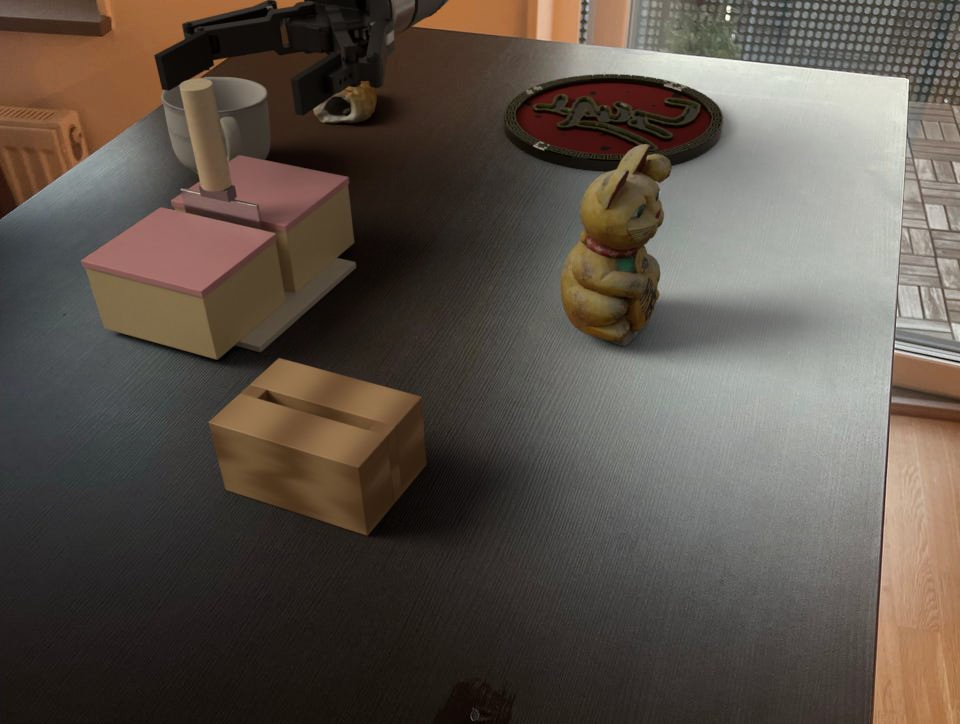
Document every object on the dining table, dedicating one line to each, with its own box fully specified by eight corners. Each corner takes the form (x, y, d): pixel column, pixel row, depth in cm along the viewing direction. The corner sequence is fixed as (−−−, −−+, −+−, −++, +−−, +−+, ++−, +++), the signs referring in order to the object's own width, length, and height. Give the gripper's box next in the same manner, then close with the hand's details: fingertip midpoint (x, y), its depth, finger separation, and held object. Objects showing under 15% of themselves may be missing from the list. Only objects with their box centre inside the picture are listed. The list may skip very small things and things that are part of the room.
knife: (192, 280, 95) (145, 82, 82) (209, 268, 96) (165, 71, 84) (265, 299, 92) (227, 97, 80) (281, 285, 94) (247, 86, 81)
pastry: (336, 93, 126) (333, 59, 124) (389, 97, 125) (387, 63, 123) (312, 124, 120) (307, 88, 118) (367, 128, 119) (364, 93, 116)
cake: (87, 330, 90) (62, 255, 85) (236, 221, 104) (222, 151, 99) (238, 372, 85) (221, 296, 80) (373, 252, 99) (366, 180, 94)
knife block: (225, 490, 75) (207, 422, 71) (291, 424, 80) (278, 357, 76) (367, 536, 71) (358, 467, 67) (427, 464, 77) (422, 396, 72)
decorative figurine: (631, 364, 85) (650, 183, 74) (539, 343, 88) (544, 164, 77) (667, 308, 91) (690, 132, 80) (580, 290, 94) (590, 116, 83)
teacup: (179, 153, 115) (161, 76, 109) (276, 144, 117) (264, 67, 111) (177, 208, 106) (158, 127, 100) (283, 198, 107) (270, 117, 101)
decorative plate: (682, 175, 106) (466, 136, 114) (681, 187, 107) (466, 147, 115) (750, 92, 121) (555, 62, 129) (748, 102, 122) (555, 72, 130)
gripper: (477, 69, 97) (362, 156, 84) (256, 34, 104) (120, 109, 92) (475, -23, 91) (352, 56, 79) (242, -53, 99) (96, 14, 86)
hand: (227, 85), depth 85 cm, fingers open, 13 cm apart
